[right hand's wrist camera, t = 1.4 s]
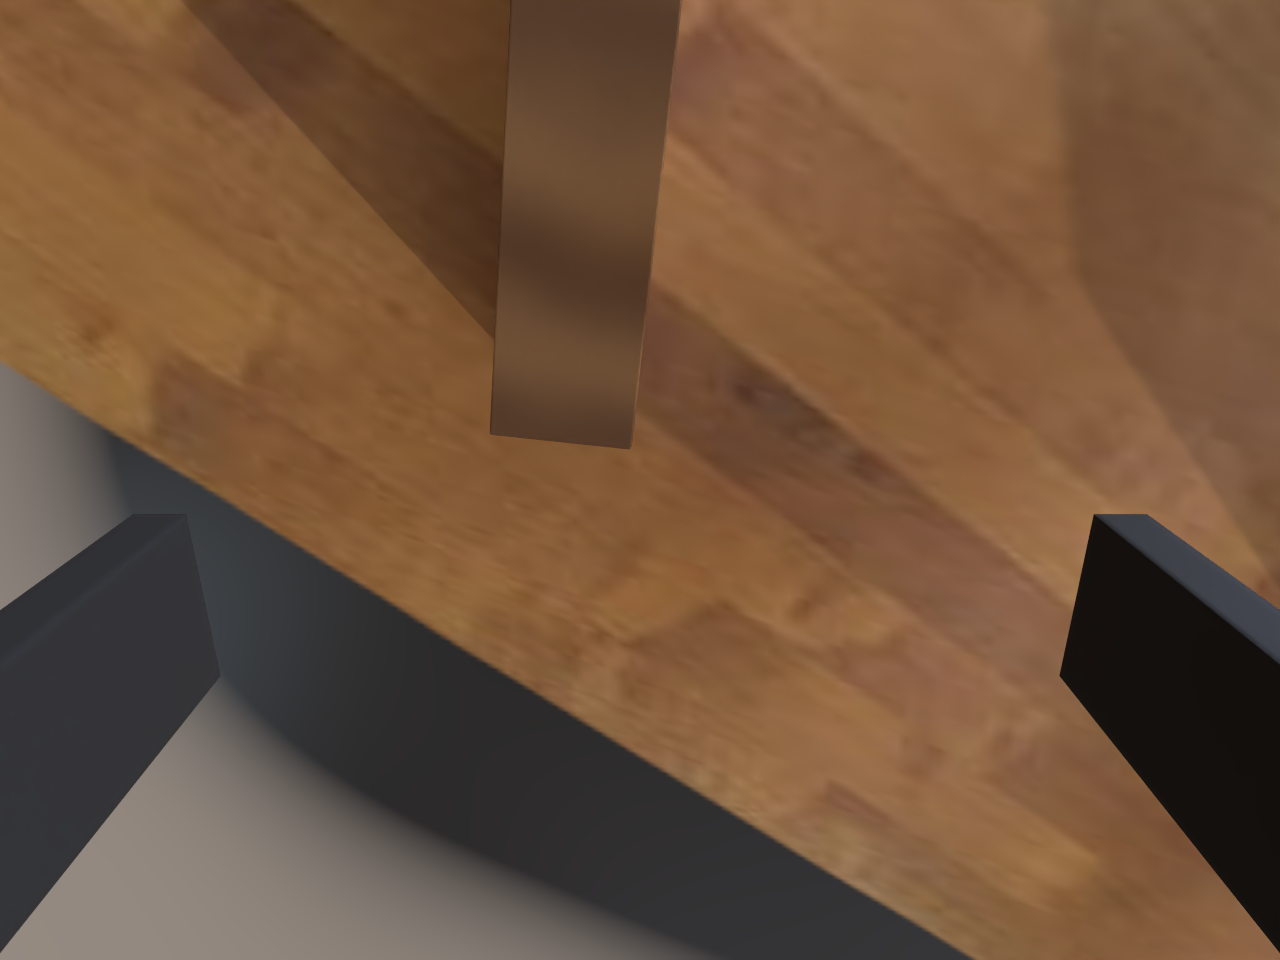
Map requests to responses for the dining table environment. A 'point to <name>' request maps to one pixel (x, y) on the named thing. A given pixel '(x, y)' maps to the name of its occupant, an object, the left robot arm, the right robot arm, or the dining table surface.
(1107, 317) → the dining table surface
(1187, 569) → the right robot arm
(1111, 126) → the dining table surface
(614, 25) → the post
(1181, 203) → the dining table surface
